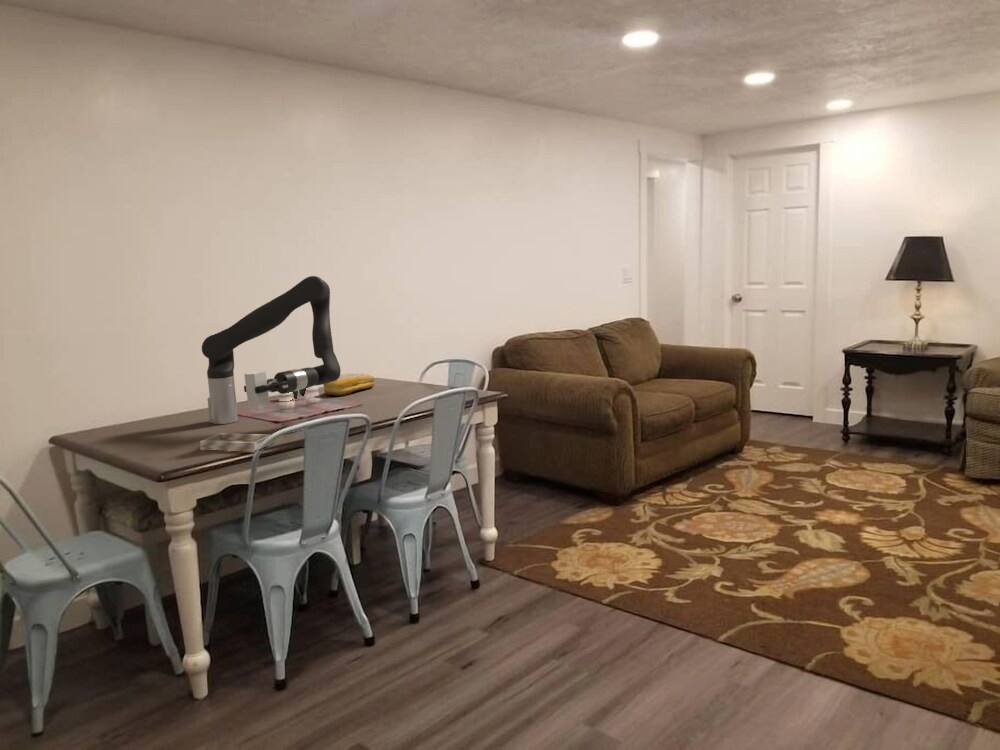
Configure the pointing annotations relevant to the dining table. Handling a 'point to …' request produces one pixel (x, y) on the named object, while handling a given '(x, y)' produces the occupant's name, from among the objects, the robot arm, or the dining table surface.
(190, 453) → the dining table surface
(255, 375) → the skincare box
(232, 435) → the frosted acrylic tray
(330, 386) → the bread
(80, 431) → the dining table surface
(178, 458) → the dining table surface
